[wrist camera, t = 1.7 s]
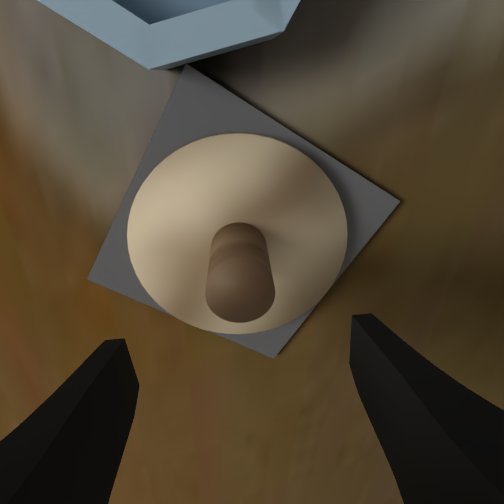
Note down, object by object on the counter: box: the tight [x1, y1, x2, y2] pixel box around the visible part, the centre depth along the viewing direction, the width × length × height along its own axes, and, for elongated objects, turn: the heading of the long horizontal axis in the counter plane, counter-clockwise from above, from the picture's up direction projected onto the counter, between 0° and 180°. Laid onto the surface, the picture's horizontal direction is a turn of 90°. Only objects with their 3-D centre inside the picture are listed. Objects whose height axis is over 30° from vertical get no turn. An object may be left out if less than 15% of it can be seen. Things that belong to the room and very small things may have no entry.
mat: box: [87, 64, 400, 359], centre depth 19 cm, size 12×12×1 cm
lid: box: [127, 132, 348, 334], centre depth 16 cm, size 11×11×5 cm
